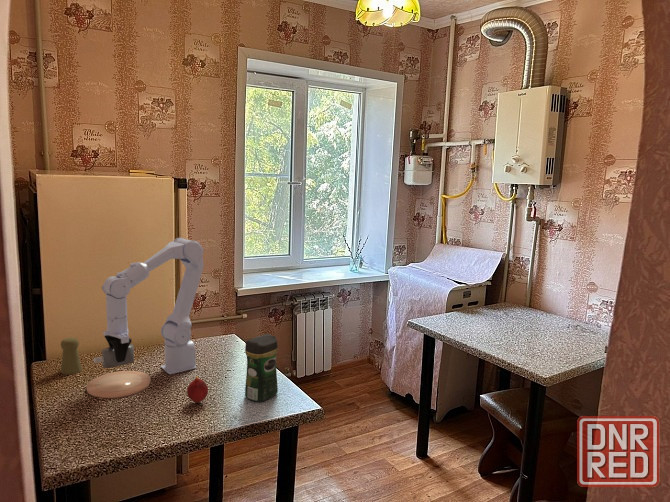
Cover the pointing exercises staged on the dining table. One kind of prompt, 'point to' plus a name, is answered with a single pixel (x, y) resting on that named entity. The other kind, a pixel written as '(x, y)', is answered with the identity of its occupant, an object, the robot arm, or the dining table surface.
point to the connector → (114, 357)
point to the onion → (197, 390)
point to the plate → (118, 384)
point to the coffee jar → (261, 368)
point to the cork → (70, 356)
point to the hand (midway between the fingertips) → (118, 359)
